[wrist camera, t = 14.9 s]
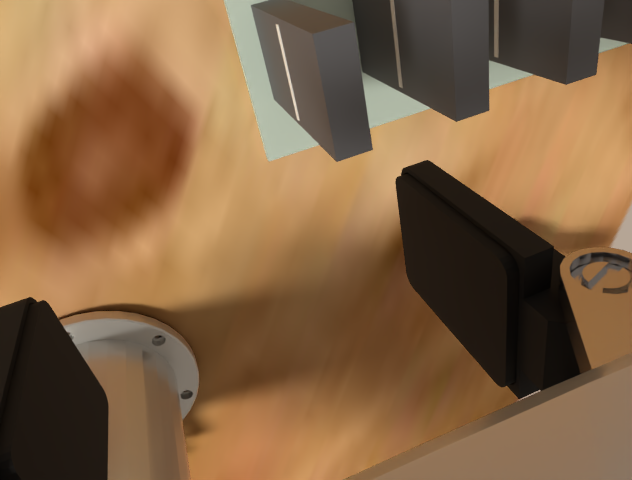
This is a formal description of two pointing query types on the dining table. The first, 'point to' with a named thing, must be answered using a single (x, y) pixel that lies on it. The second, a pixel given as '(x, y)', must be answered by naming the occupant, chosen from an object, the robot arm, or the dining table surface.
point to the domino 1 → (315, 74)
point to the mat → (381, 99)
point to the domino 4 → (617, 20)
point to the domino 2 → (428, 51)
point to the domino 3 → (547, 37)
